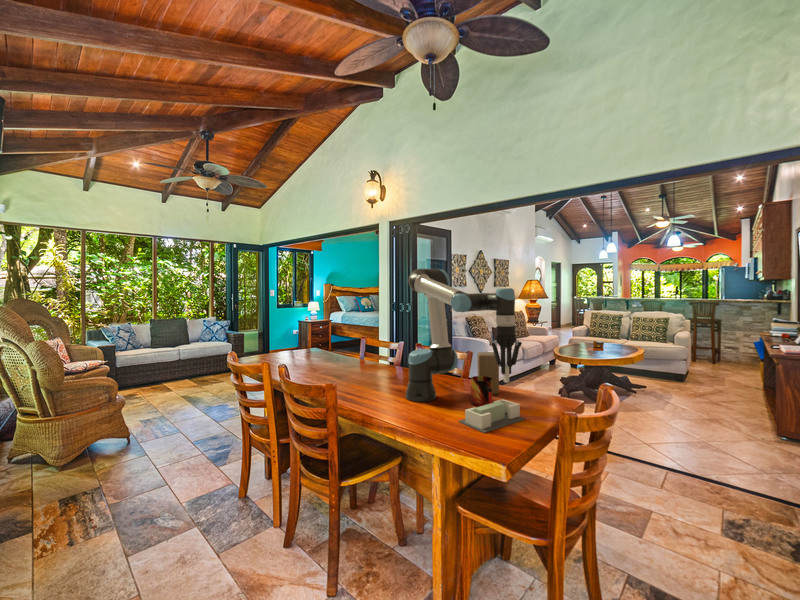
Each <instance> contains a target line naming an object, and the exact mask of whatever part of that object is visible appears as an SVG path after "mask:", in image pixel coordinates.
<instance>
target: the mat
mask: <svg viewBox="0 0 800 600" xmlns="http://www.w3.org/2000/svg"><path fill="white" fill-rule="evenodd" d="M525 420H526V418H525V417H522V416H521V415H520V416H519V417H516V418H513V419H509V418H508V413H505V418H504V419H501V420H498V421H494V422H491V426H490V427H487V428H484V429H480V428H478V427H475V426H473V425H471V424H468V423H466V422H465V418H464V419H460V420H458V421H457V422H458V423H460V424H462V425H464V426H467V427H469V428H471V429H474V430H476V431H479V432H481V433H483V434H486V433H489V432H492V431H495V430H499V429H502V428H504V427H508V426H510V425H511V426H512V425H514V424H517V423H519V422H521V421H525Z"/></svg>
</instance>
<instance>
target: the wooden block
mask: <svg viewBox="0 0 800 600" xmlns="http://www.w3.org/2000/svg"><path fill="white" fill-rule="evenodd" d="M477 376H486V377H490V378H492V395H498V394H499V393H500V365H498V364H497V363H496V359H495V355H494V351H493V352H492V351H489V352H488V351H486V352H485V351H479V352H477Z"/></svg>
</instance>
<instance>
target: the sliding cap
mask: <svg viewBox="0 0 800 600" xmlns="http://www.w3.org/2000/svg"><path fill="white" fill-rule="evenodd" d="M495 402H501V403H504V404H505V413H508V418H509V419H513V418H516V417H519V416H520V417H521V414H520V409H521V408H520V406H521V404H520V403H516V402H514V401H512V400H511V401H510V400H507V399H503V398H501V399H498V400H495V401H493V403H495Z"/></svg>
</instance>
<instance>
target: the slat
mask: <svg viewBox="0 0 800 600" xmlns="http://www.w3.org/2000/svg"><path fill="white" fill-rule="evenodd" d="M473 408H474V407H473ZM474 412H476V413H478V414H484V413H488V412H489V413H491V422H494V421H498V420H501V419H504V418H505V404H504V403H501V402H495V403H494V402H492V403H491V404H487V405H484V406H480V407H475V408H474Z"/></svg>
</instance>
